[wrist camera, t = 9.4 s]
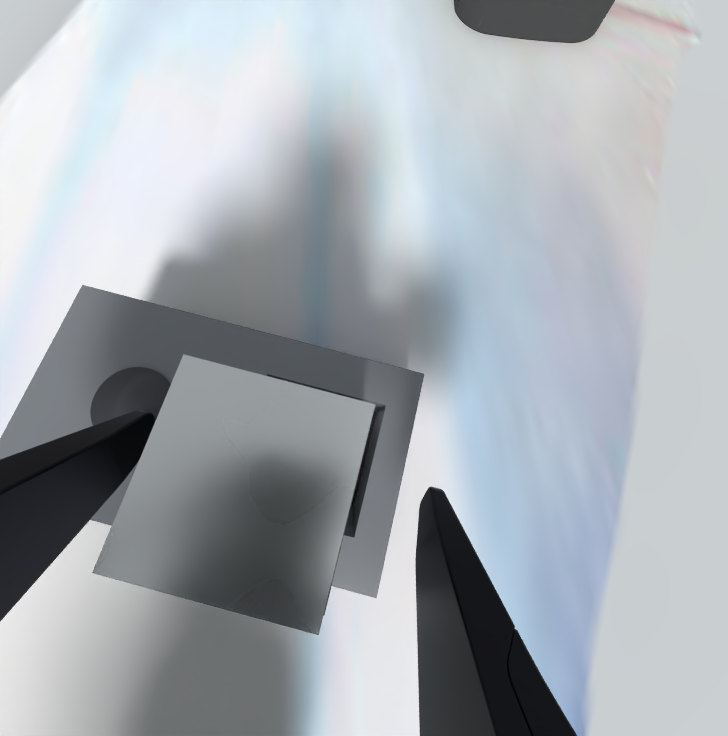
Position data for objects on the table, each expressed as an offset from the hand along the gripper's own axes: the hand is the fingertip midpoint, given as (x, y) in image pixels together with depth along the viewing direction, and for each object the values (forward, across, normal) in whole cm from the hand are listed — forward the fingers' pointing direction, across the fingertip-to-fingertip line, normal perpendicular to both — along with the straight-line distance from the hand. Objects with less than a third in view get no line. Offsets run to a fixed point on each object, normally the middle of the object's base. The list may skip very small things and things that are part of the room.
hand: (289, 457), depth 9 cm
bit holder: (+6, +4, +7) cm, 10 cm away
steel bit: (+6, 0, +7) cm, 9 cm away
